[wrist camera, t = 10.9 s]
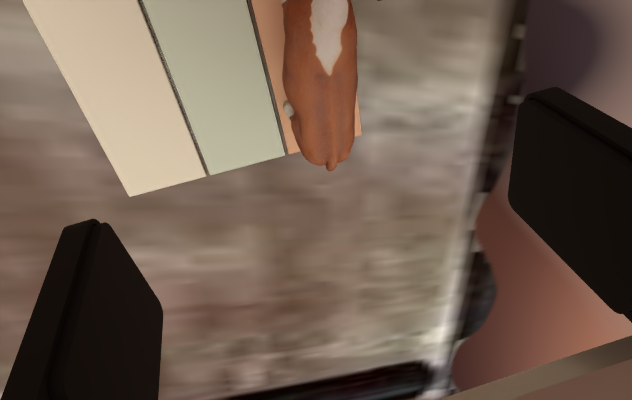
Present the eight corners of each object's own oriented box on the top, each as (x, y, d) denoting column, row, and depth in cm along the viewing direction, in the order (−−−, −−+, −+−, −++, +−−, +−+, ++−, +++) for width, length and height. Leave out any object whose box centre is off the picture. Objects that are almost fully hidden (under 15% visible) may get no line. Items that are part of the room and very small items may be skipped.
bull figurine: (347, -94, 24) (403, -89, 18) (330, 127, 32) (364, 187, 25) (269, -99, 23) (297, -95, 17) (271, 130, 31) (291, 193, 24)
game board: (-4, -54, 22) (-7, -53, 22) (328, -126, 23) (330, -127, 23) (130, 193, 32) (129, 196, 31) (360, 132, 33) (361, 134, 33)
